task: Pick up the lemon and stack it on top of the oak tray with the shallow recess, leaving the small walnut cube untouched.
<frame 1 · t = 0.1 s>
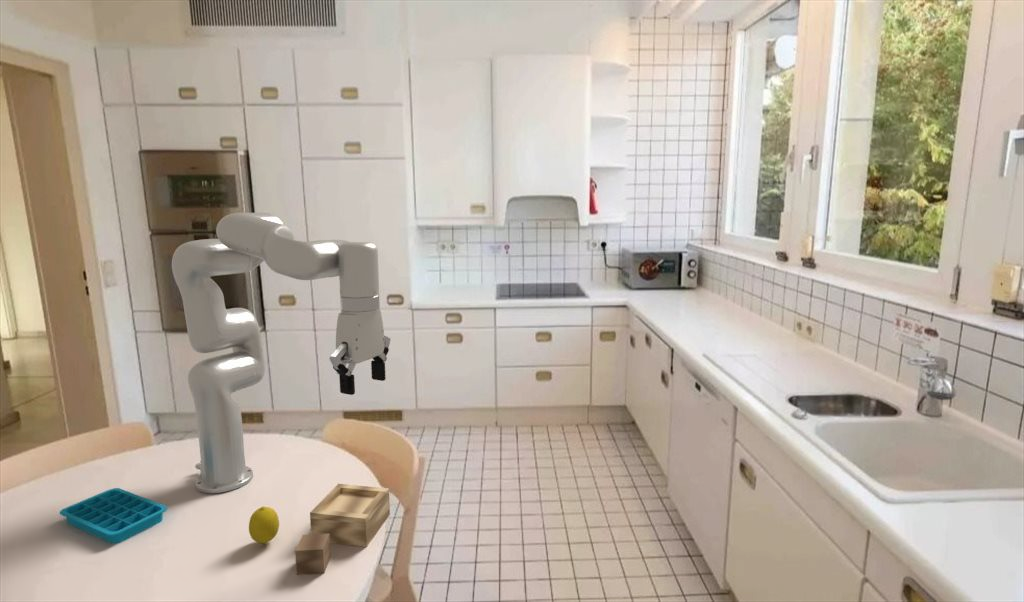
hand: (363, 386, 111), 31 cm above the table, tool pointing down, fingers open, 9 cm apart
oak tray: (352, 526, 115), on the table
walnut cube: (314, 565, 103), on the table
lemon: (265, 544, 109), on the table
ice cube tray: (115, 523, 117), on the table
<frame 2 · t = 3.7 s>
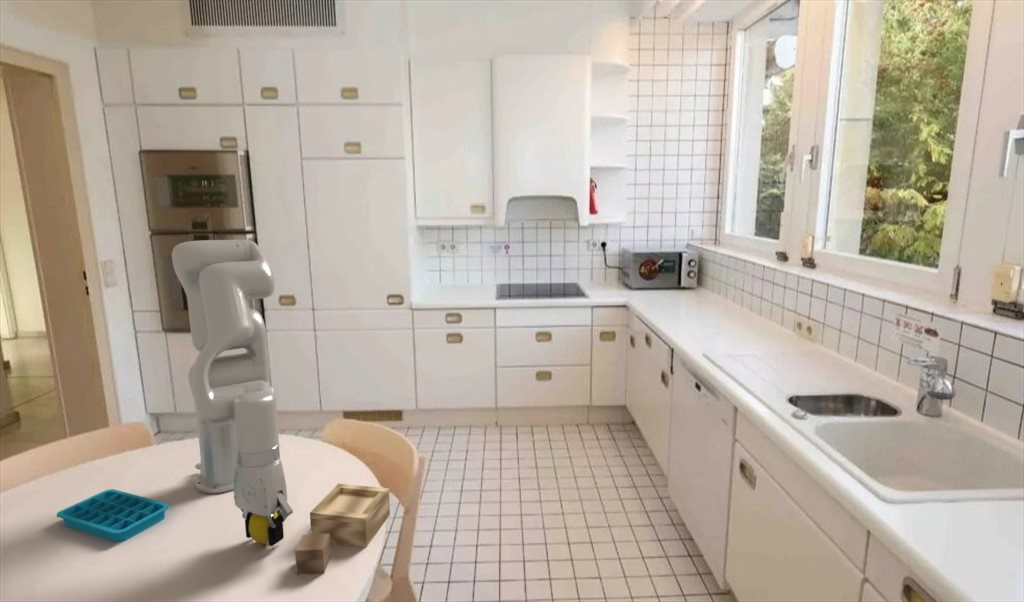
hand: (265, 537, 109), 1 cm above the table, tool pointing down, fingers closed on lemon, 5 cm apart
lemon: (265, 544, 109), on the table, touching gripper
when the fingers open (8 cm above the table, at t = 8.2 s): lemon drops 1 cm, resting on oak tray.
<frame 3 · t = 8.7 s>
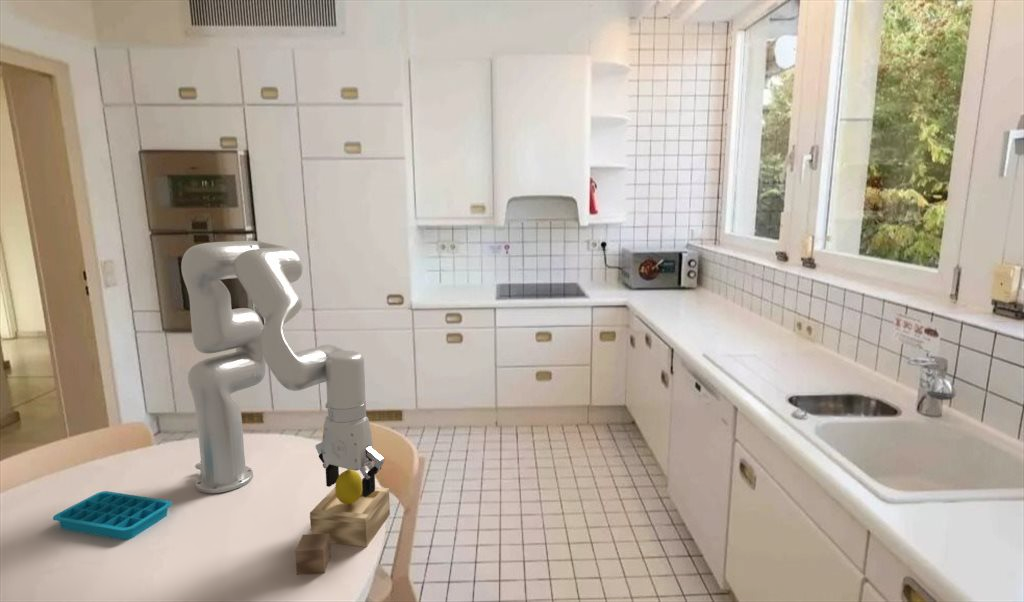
hand: (350, 488, 114), 9 cm above the table, tool pointing down, fingers open, 9 cm apart
lemon: (349, 505, 114), point 5 cm above the table, touching oak tray
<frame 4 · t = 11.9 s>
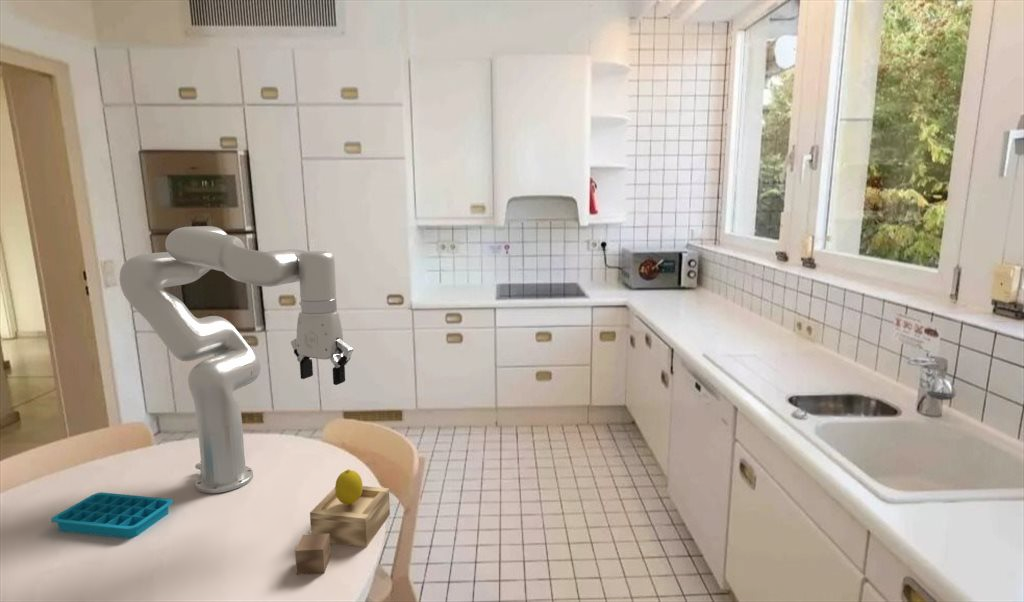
hand: (322, 380, 123), 28 cm above the table, tool pointing down, fingers open, 9 cm apart
at the end: lemon inside the target area on the oak tray (0.4 cm from its centre), point 4.8 cm above the oak tray's base; the gripper is holding nothing; walnut cube moved 0.1 cm from its start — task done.
